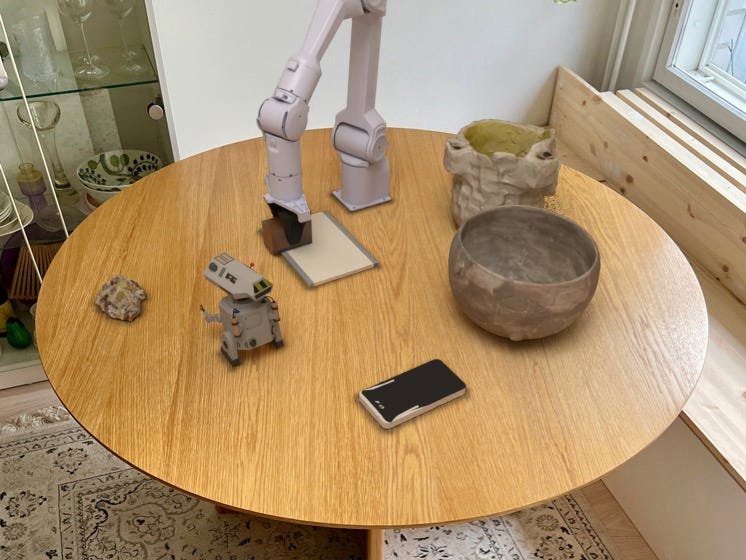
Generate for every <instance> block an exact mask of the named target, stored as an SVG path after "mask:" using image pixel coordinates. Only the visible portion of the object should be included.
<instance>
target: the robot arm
mask: <svg viewBox="0 0 746 560" xmlns="http://www.w3.org/2000/svg"><path fill="white" fill-rule="evenodd" d="M387 5H388V0H318V1H317V4H316V7H315V10H314V12H313V15H312V18H311V21H310V23H309V26H308V29H307V32H306V34H305V36H304V40H303V43H302V46H301V48H300V51H299V52H296V53H294V54H291V55H290V56H289V58H288V60H287V62H286V65H285V66H284V69H283V71H282V73H281V76H280V78H279V80H278V82H277V85H276V86H275V89H274V91H273V93H272V95H271V96H270V97H268V98H266V99H264V100H263V101H262V102H261V104H260V106H258V107H259V108H258V110H257V117H256V119H255V122H256V125H257V128H258V130H260V131H261V134H262V140H263V141H264V143H265V147H266V157H267V158H266V159H267V174H264V175H263V182H264V186H265V187H267V193H266V194H264V195H263V200H264V202H265V203H266V205H267V207H268V208H269V211H270V213H271V215H272V218H273V217H277V216H280V218H281V220H282V222H283V224H284V227H285V230H286V236H287V240H288V242H289V244H290V245H294V244H298V243H300V242H301V238H302V234H303V230H304V227H305V224H306V222H307V221H309V220H311V215H312V210H311V208H310V207H308V203H307V199H306V194H305V191H304V189H303V170H302V169H303V168H302V167H303V166H302V145H301V137H302V136H303V134H304V133H305V131H306V129H307V126H308V121H309V112H310V106H309V103H310V101H311V99H312V97H313V95H314V92H315V90H316V88H317V86H318V83H319V82H320V79H321V77H322V75H323V73H322V67H321V61H322V59H323V57H324V55H325V53H326V52H327V50H328V48H329V47H330V44H331V43H332V41H333V39H334V37H335V35H336V34H337V32H338V30H339V29H340V26H341V24H342V23H343V22H344V21H345V20H349V19H351V29H350V30H351V31H350V45H349V62H348V77H347V78H348V79H347V95H346V107H345V108H343V109H341V110H340V111H338V113H336V115H335V119H334V125H333V128H332V131H331V134H330V135H331V136H330V140H331V142H330V143H331V146H332V148H333V150H335V151H337V152H336V153H337V157H339V159H340V189H337V190H334V191H332V195H333V197H335V198H336V199H337V200H338V201H339V202H340V203H342V205H343V206H344V207H345V208H346V209H347V210H349V211H350V212H355V211H358V210H362V209H366V208H368V207H369V208H370V207H372V206H376V205H379V204H383V203H386V202H390V201H391V200H392V198H391V196H390V186H391V185H390V184H391V183H390V181H391V166H390V162H389V159H388V157H387V155H386V153H387V149H388V145H389V144H388V143H389V142H388V141H389V140H388V135H387V122H386V120H385V119H384V118H383V116H382V115H381V114H380V113H379V112H378V110H377V109H376V99H377V87H378V86H377V85H378V74H379V64H380V63H379V62H380V53H381V52H380V51H381V40H382V29H383V18H385V17H386V16H387Z"/></svg>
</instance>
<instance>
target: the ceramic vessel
mask: <svg viewBox="0 0 746 560" xmlns="http://www.w3.org/2000/svg"><path fill="white" fill-rule="evenodd" d="M557 143H558V137H557V136H556V129H555V128H554V127H552V128H546V129H545V127H541V126H538V125H534V124H529V123H526V124H524V125H523V124H520V123H516V122H512V121H509V120H503V119H497V118H487V119H486V118H484V119H479V120H474V121H473V120H472V122H471V123H469V124H467V125H464V126H463V127H461V128H460V130H459V131H458V132H457V134H456V137H448V138H447V139H445V141H444V152H443V153H444V154H443V159H442V164H443V168H444V170H445V171H446V172H447V173H450V174H451V175H453V179H452V187H451V190H450V192H451V194H450V195H451V198H450V210H451V214H452V218H453V219H454V221H455V223H456V224H457V226H458V228H459V227H460V226H461V224H462V223H463V221H464V220H465V219H466V218H467V217H469V216H471V215H472V214H474V213H477V212H479V211H482V210H486V209H489V208H493V207H497V206H503V205H526V206H533V207H539V208H543V209H545V202H546V201H545V197H554V196H556V194H557V190H556V189H557V187H558V185H559V173H560V169H561V167H562V161H561V158H560V156H559V153H558V151H557V148H556V147H557Z"/></svg>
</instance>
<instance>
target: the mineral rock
mask: <svg viewBox="0 0 746 560" xmlns="http://www.w3.org/2000/svg"><path fill="white" fill-rule="evenodd" d="M98 291H99V293H98V294H97V295H95V299H96V300H95V301H94V303H95V305H97V306H98V307H100V309H101V311H103V312H104V314H107V315H108V316H109V317H111V318H112V319H119V320H121V321H125V320H127V321H128V322H132V321H134V318H136V317H138V316H139V315H140V314H141V311H142V306H141V303H142V301H144V300H145V299H146V295H147V293H146V292H145V289H142V288H140V284H139V282H137V281H134V280H133V279H130V278H129V277H127V276H124V275H122V274H115V275H114V276H112V277H111V278H110V279H109V280H106V281H105V282H104V284H103V285H102V286H101V288H100V289H99V290H98Z"/></svg>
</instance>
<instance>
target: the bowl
mask: <svg viewBox="0 0 746 560" xmlns="http://www.w3.org/2000/svg"><path fill="white" fill-rule="evenodd" d="M601 260H602V259H601V254H600V250H599V247H598V245H597V243H596V241H595V240H594V238H593V236H592V235H591V234H590V233H589V232H588V230H587V229H585V228H584V227H582V225H581V224H579V223H578V222H576V221H575V220H573V219H571V218H569V217H567V216H565V215H563V214H561V213H558V212H556V211H553V210H550V209H546V208H539V207H533V206H526V205H503V206H497V207H493V208H489V209H486V210H482V211H479V212H477V213H474V214H472V215H471V216H469V217H467V218H466V219H465V220H464V221H463V223H462V224H461V226H460V227H459V226H458V229H457V230H456V232H455V234H454V235H453V237H452V240H451V242H450V246H449V251H448V260H447V269H448V270H447V271H448V282H449V286H450V290H451V293H452V295H453V296H454V299H455V301H456V302H457V303H456V304H458V306H459V307H460V309H461V311H462V312H463V313H464V314H465V316H467V317H468V319H470V320H471V321H472V322H473V323H474V324H475V325H477V326H479V327H480V328H482V329H483V330H486V331H487V332H490V333H492V334H493V335H496V336H499V337H502V338H506V339H509V340H511V341H515V342H519V341H522V340H535V339H541V338H545V337H549V336H552V335H555V334H557V333H559V332H561V331H562V330H564V329H566V328H567V327H570V326H571V325H572V324H574V323H575V322H576V321H577V320H578V319H580V318H581V316H582V315H583V314H584V313H585V311H586V310H587V309H588V307H589V306H590V303H591V302H592V300H593V298H594V296H595V293H596V290H597V288H598V285H599V280H600V274H601V266H602V265H601V264H602V263H601Z"/></svg>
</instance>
